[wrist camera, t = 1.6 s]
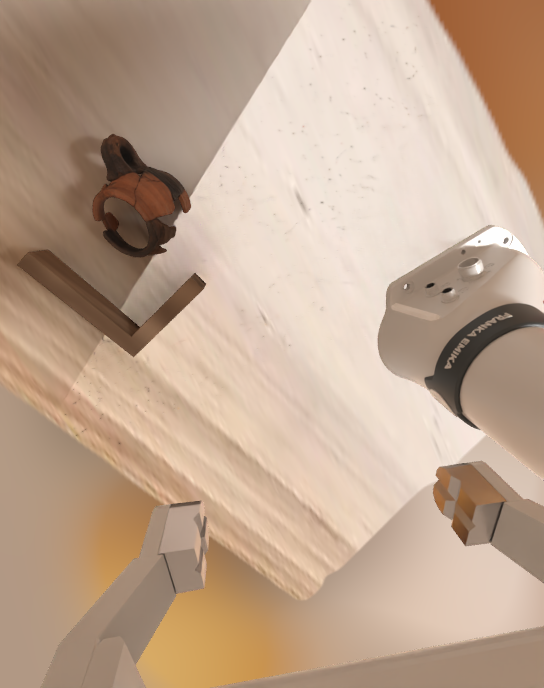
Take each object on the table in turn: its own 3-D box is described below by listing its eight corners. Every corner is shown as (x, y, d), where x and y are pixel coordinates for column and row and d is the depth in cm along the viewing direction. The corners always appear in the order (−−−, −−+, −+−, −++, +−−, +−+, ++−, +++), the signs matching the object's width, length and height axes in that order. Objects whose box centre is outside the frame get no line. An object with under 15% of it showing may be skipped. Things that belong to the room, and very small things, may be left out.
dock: (106, 184, 35) (91, 179, 32) (206, 283, 41) (203, 289, 37) (38, 261, 38) (17, 264, 34) (142, 346, 43) (133, 357, 39)
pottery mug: (209, 228, 39) (178, 256, 33) (153, 243, 42) (116, 271, 36) (159, 116, 32) (109, 126, 26) (98, 147, 35) (42, 161, 30)
